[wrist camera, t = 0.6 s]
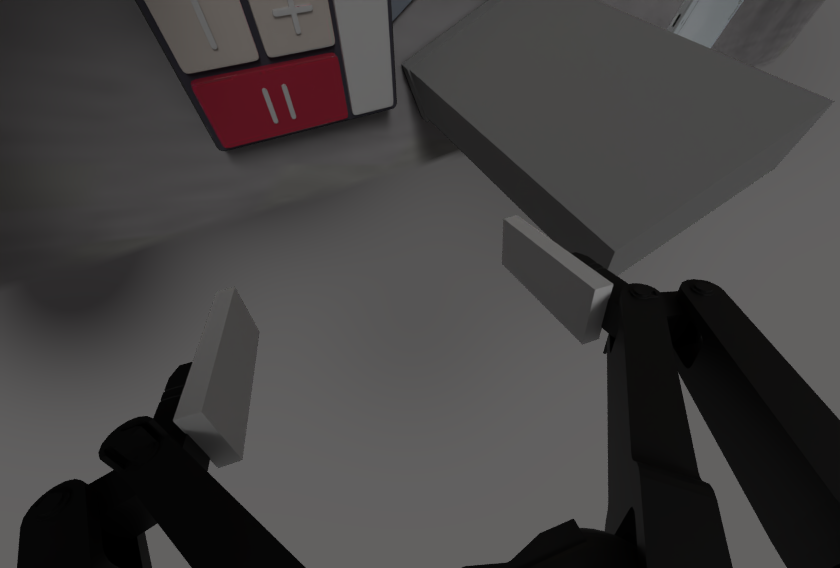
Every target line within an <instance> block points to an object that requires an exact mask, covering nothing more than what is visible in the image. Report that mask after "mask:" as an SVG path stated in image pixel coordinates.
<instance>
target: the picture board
mask: <svg viewBox="0 0 840 568" xmlns="http://www.w3.org/2000/svg"><path fill="white" fill-rule="evenodd" d="M411 1H412V0H391V6H392V21H393V20H394V19H395V18H396V17H397V16H398V15H399V14H400V13H401V12H402V11H403V9H404V8H405V7H406V6H407V5H408V4H409V3H410V2H411Z"/></svg>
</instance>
